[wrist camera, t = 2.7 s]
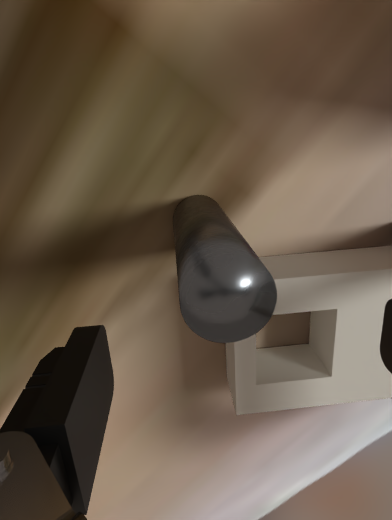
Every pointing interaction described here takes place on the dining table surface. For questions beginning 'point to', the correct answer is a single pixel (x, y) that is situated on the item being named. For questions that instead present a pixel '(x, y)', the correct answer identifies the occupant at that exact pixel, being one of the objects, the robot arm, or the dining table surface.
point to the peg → (219, 274)
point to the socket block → (319, 334)
